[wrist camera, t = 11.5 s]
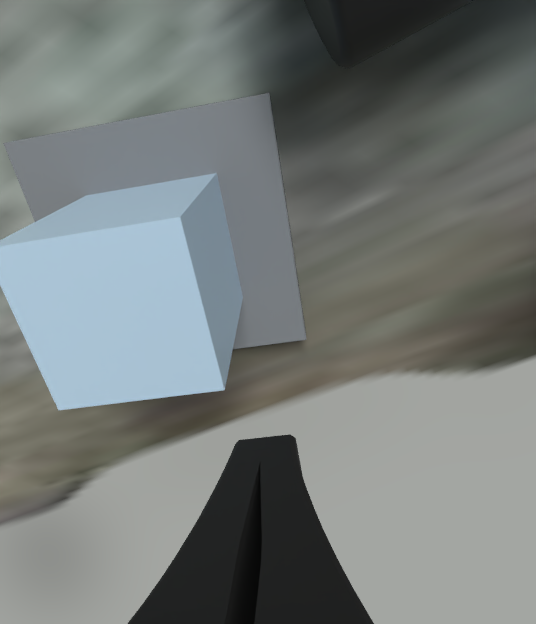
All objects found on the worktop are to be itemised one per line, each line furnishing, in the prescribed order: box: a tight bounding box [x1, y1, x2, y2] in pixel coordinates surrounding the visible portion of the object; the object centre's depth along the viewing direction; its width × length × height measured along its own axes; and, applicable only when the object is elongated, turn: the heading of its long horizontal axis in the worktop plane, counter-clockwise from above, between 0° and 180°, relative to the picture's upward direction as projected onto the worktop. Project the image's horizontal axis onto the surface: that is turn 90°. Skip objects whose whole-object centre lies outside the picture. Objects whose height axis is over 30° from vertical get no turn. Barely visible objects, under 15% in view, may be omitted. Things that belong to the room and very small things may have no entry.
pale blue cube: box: [0, 173, 243, 410], centre depth 15 cm, size 5×5×7 cm
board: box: [3, 93, 306, 349], centre depth 19 cm, size 10×10×1 cm
